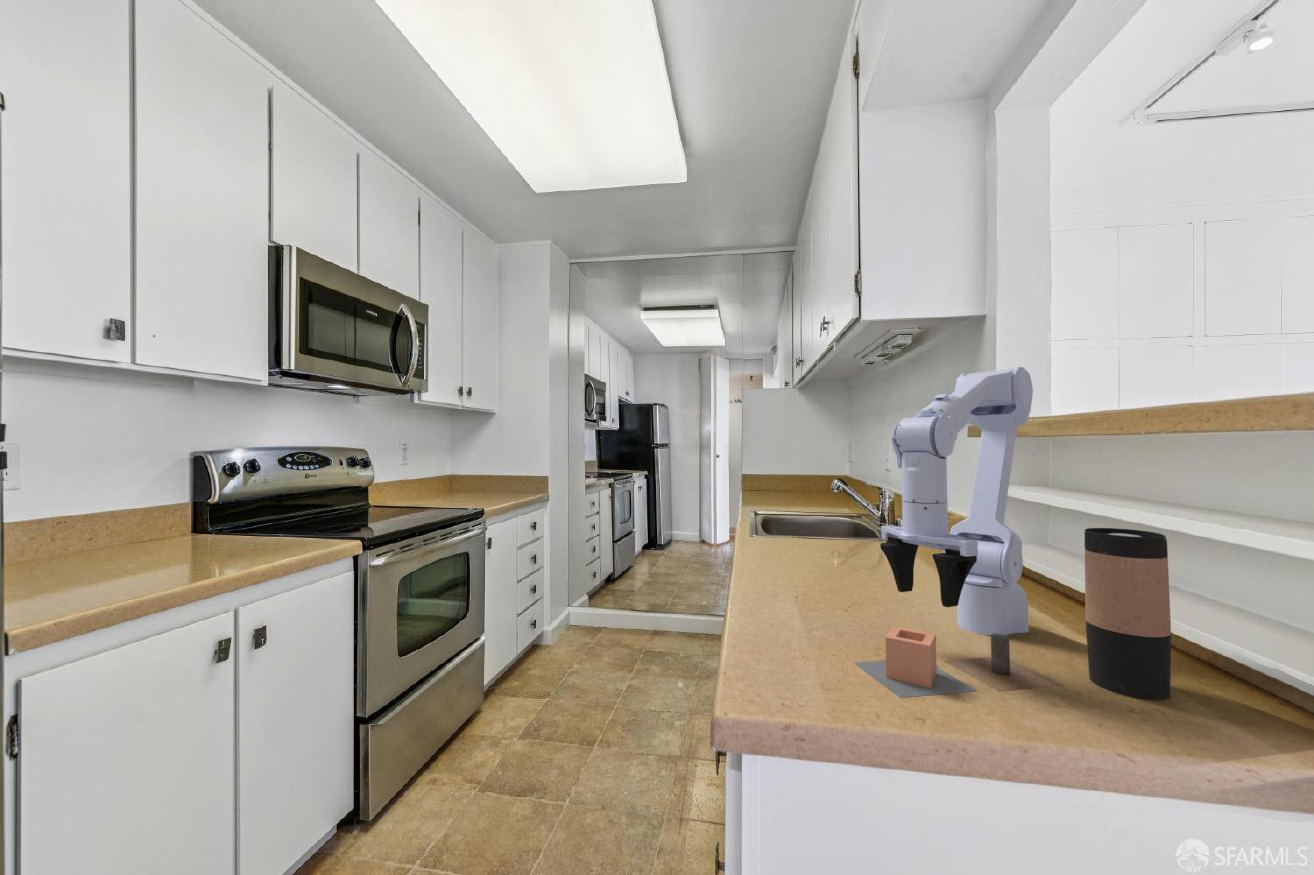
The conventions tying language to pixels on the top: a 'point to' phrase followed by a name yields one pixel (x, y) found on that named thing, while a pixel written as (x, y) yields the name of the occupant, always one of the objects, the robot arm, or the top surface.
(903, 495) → the robot arm
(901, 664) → the collar
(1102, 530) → the travel mug
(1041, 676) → the stand
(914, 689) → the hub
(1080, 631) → the top surface
